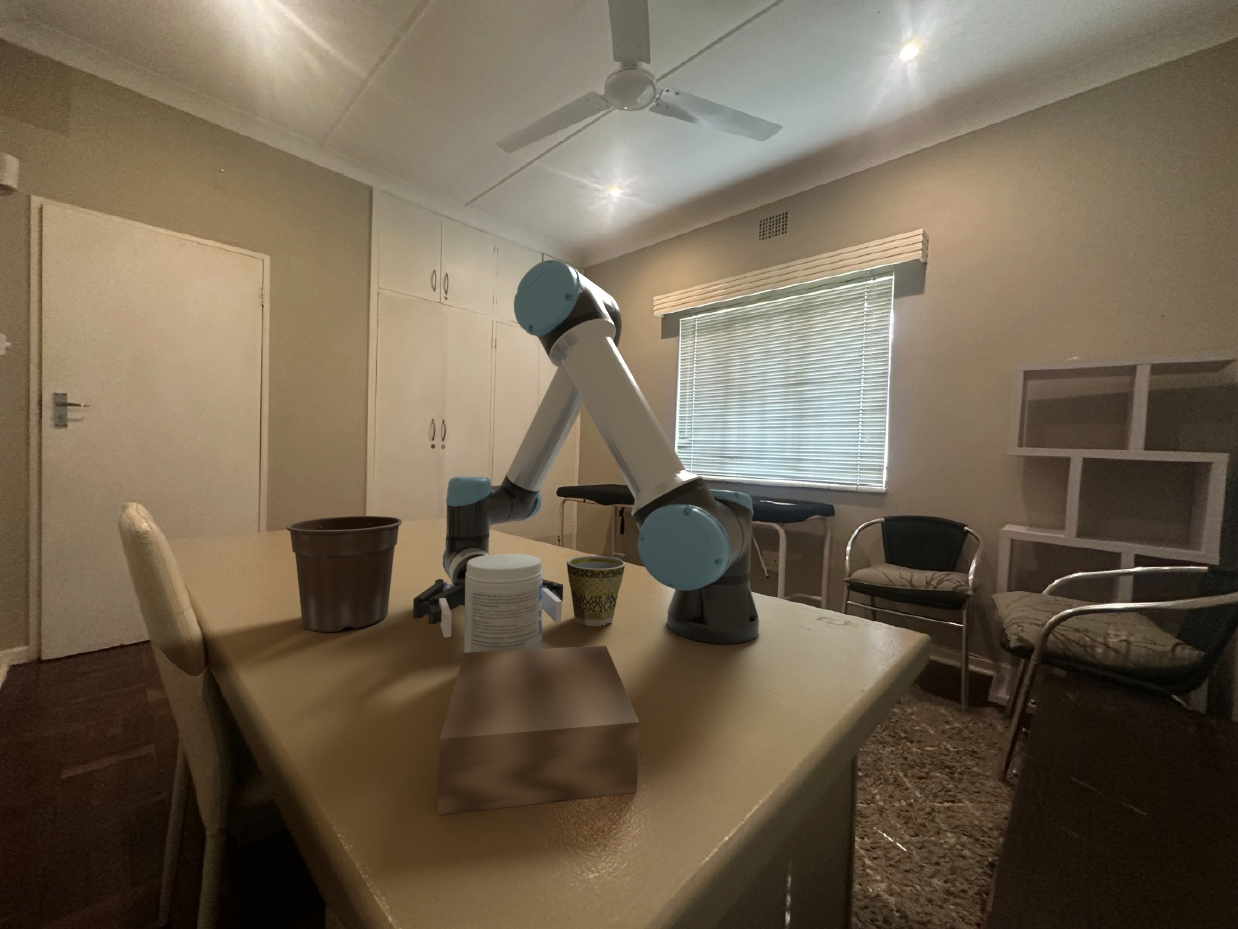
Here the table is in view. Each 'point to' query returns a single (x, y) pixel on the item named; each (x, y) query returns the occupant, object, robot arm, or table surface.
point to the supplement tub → (503, 603)
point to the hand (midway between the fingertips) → (506, 618)
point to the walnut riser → (536, 730)
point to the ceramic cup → (594, 588)
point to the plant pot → (344, 570)
